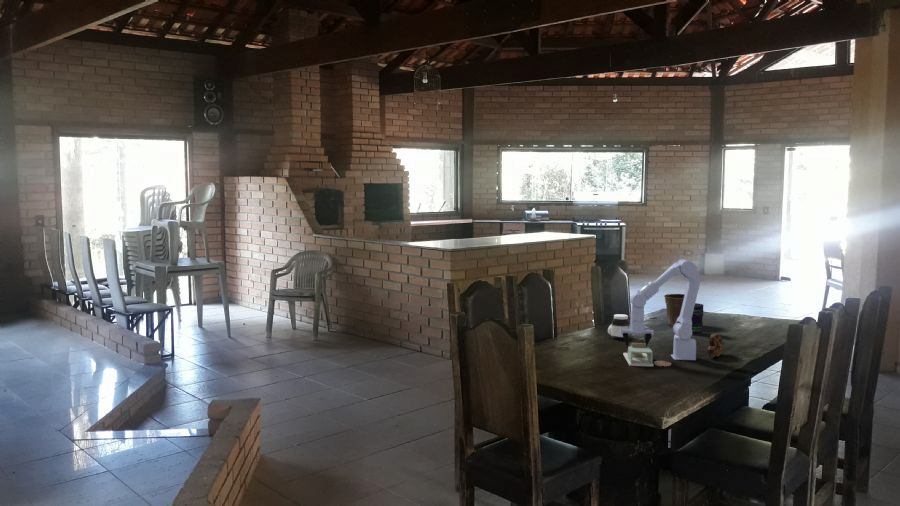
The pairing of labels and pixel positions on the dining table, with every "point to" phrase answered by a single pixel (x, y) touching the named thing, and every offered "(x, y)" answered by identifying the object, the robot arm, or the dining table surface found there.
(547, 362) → the dining table surface
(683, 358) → the robot arm
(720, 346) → the wooden carving
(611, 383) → the dining table surface
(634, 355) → the block
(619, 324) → the spread jar
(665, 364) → the coaster
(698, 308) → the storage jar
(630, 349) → the pale green open box
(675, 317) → the plant pot
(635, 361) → the board
